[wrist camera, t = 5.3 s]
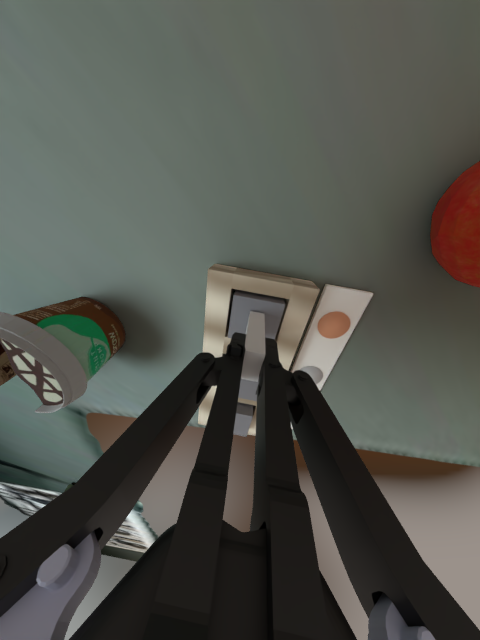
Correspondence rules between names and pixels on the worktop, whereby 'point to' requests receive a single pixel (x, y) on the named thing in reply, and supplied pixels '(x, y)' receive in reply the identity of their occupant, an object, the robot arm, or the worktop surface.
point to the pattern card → (330, 330)
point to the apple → (459, 228)
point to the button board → (218, 311)
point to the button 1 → (243, 419)
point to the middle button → (248, 389)
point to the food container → (60, 347)
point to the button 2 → (255, 303)
